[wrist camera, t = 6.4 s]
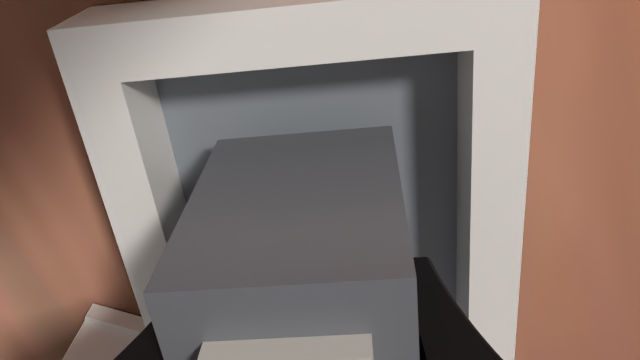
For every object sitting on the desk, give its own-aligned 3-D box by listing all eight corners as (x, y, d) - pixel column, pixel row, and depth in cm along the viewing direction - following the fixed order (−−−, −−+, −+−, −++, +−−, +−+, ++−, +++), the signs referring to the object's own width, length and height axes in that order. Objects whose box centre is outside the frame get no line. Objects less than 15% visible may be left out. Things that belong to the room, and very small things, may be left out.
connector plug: (402, 327, 16) (429, 558, 10) (258, 334, 16) (214, 561, 11) (391, 125, 13) (420, 300, 8) (217, 139, 13) (131, 316, 8)
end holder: (492, 371, 18) (509, 430, 16) (199, 383, 19) (182, 441, 17) (511, -38, 13) (541, -21, 11) (89, 6, 13) (46, 30, 11)
